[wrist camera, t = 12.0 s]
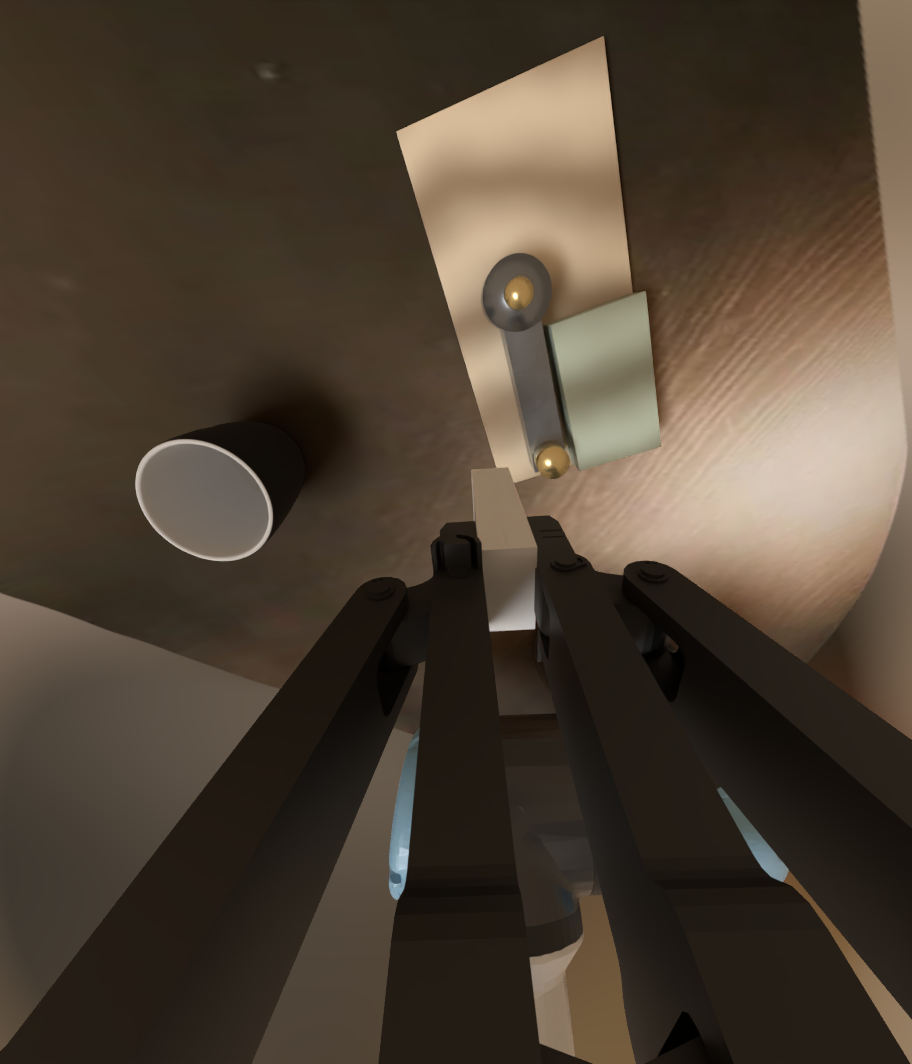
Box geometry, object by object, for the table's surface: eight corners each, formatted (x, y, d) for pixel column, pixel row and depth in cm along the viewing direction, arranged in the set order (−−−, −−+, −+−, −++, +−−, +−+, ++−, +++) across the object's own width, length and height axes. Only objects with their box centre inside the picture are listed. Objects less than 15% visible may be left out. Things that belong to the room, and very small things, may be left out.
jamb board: (645, 438, 35) (665, 451, 31) (501, 483, 37) (505, 499, 33) (599, 44, 24) (622, -2, 21) (397, 137, 26) (389, 108, 22)
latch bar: (473, 273, 28) (476, 264, 24) (534, 251, 28) (548, 238, 24) (519, 467, 35) (528, 486, 31) (570, 453, 34) (585, 470, 30)
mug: (248, 385, 33) (170, 407, 24) (338, 457, 36) (298, 501, 27) (183, 486, 37) (95, 537, 28) (268, 543, 40) (213, 607, 31)
